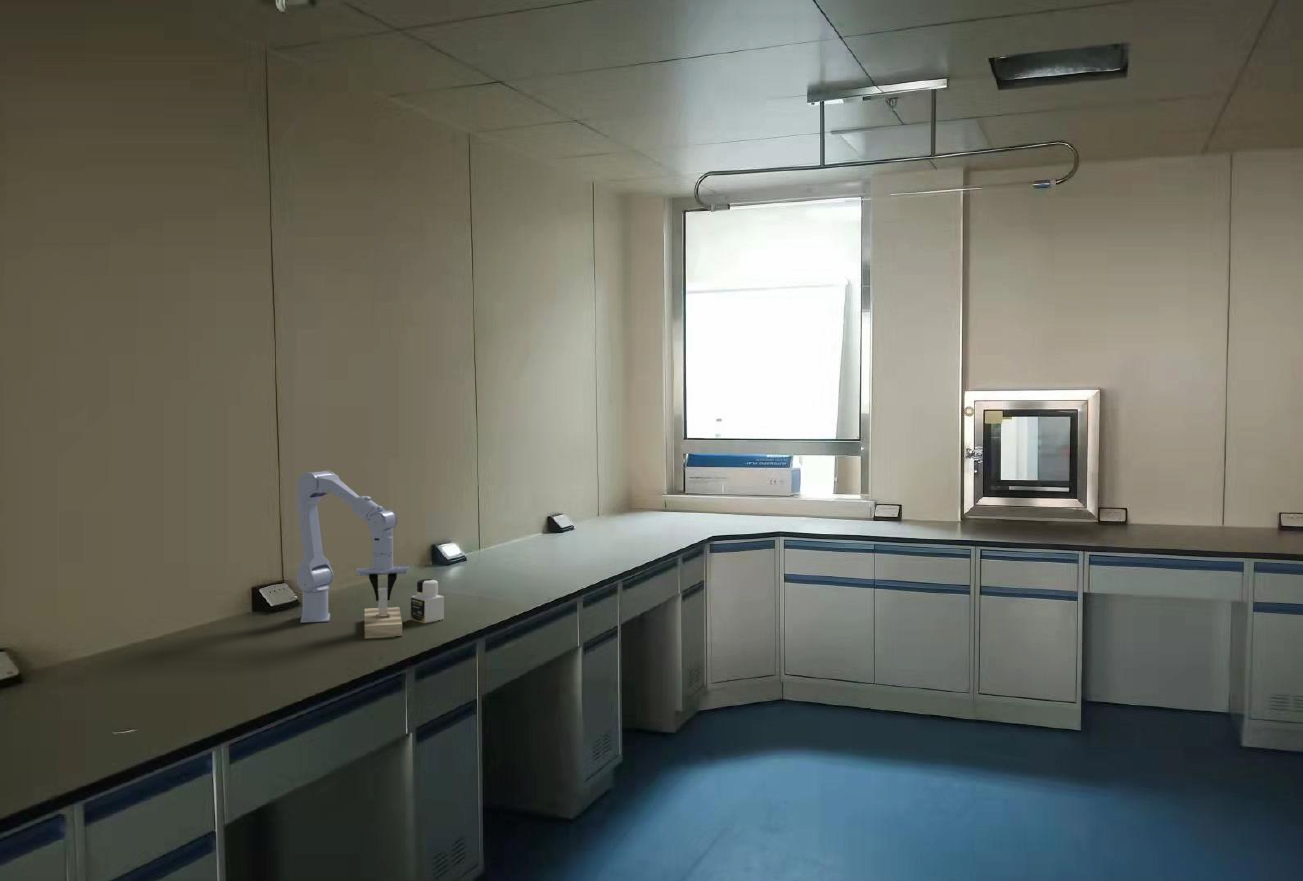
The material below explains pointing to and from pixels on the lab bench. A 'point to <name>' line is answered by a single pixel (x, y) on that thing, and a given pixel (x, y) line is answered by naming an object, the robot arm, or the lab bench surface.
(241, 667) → the lab bench surface
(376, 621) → the beige slab
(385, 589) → the grey rectangular prism
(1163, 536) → the lab bench surface
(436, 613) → the medicine bottle
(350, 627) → the lab bench surface
